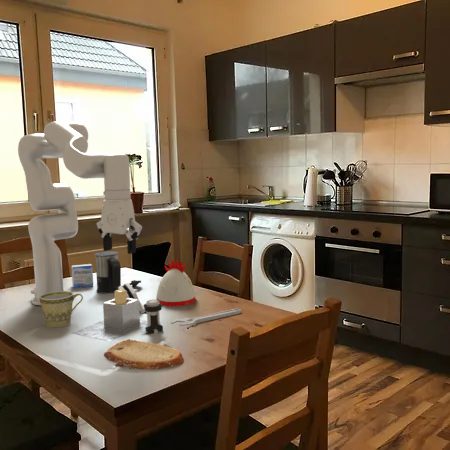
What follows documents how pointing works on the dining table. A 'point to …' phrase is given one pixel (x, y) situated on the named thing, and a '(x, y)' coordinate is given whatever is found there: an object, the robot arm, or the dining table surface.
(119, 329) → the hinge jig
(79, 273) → the medicine box
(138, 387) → the dining table surface
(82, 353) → the dining table surface
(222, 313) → the adjustable wrench
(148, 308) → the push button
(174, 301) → the kitchen timer
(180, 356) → the bread slice
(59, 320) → the ceramic cup
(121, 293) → the brass pin
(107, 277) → the milk frother
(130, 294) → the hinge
